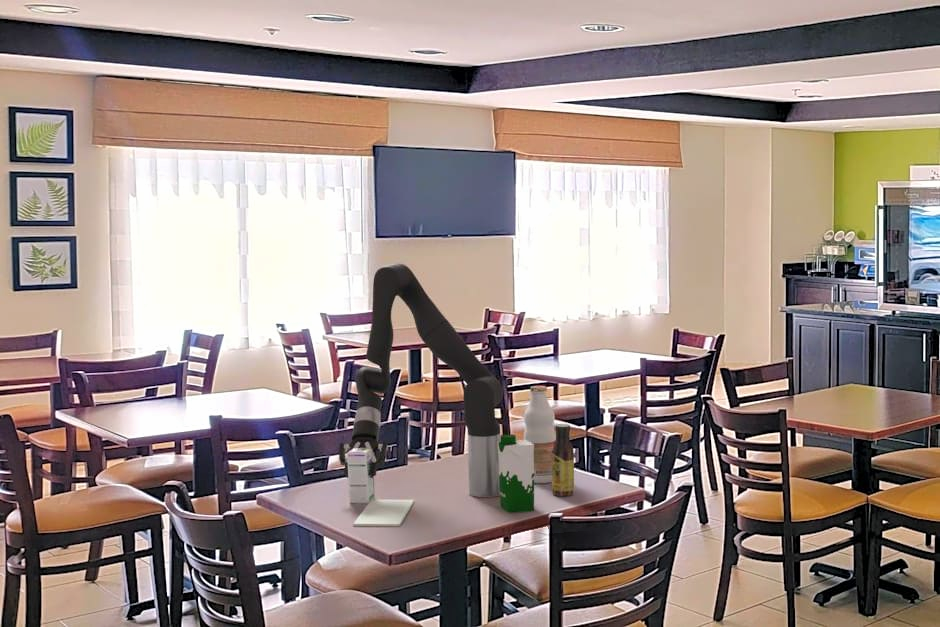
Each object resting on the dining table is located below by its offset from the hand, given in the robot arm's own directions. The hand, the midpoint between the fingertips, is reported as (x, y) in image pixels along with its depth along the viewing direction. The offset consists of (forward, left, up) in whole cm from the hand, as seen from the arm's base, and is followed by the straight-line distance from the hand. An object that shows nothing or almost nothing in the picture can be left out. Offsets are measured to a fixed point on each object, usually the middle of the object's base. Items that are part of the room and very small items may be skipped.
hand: (359, 476), depth 293 cm
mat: (-9, +11, -7) cm, 16 cm away
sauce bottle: (-56, -9, -8) cm, 57 cm away
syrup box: (0, -2, -8) cm, 8 cm away
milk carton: (-44, +6, -8) cm, 45 cm away
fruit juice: (-49, -26, -8) cm, 56 cm away
